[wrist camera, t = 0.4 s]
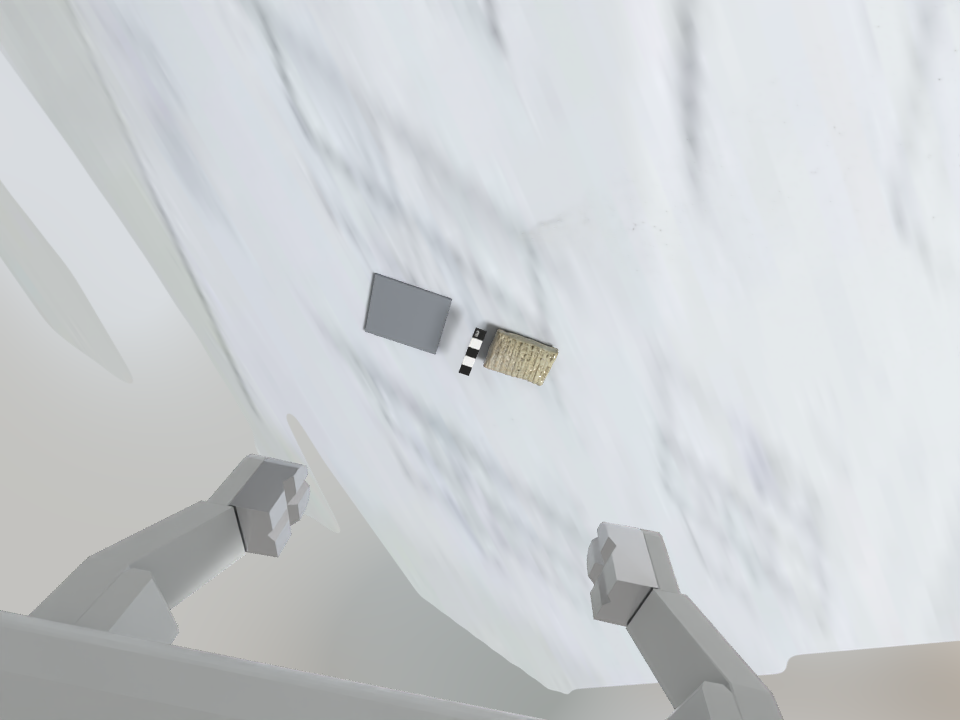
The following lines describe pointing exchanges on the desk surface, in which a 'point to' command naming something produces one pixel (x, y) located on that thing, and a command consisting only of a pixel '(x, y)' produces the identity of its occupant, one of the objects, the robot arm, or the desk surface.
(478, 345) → the cuneiform tablet
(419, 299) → the felt pad
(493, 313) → the desk surface
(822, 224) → the desk surface
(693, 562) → the desk surface
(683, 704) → the robot arm
